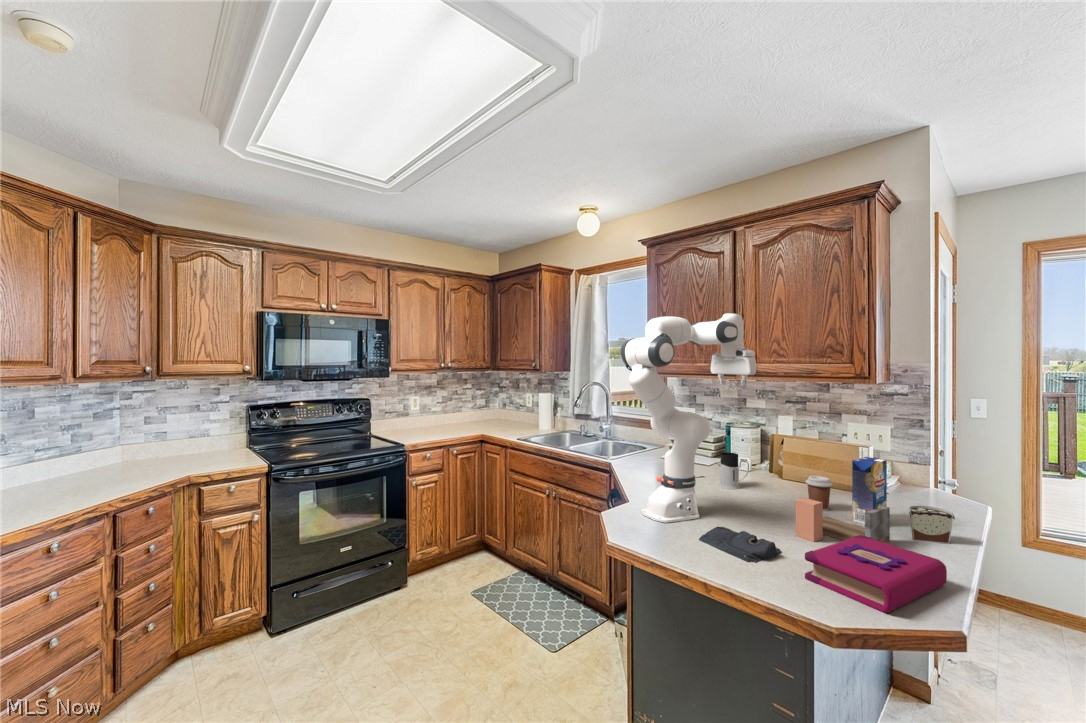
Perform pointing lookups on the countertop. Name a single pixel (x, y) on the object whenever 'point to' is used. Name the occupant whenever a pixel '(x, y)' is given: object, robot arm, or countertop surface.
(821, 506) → the salmon pink brick
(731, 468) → the glass holder
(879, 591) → the book
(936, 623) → the countertop surface
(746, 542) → the folded black shirt
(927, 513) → the food container
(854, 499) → the beverage box
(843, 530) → the walnut shelf
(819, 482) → the coffee cup
